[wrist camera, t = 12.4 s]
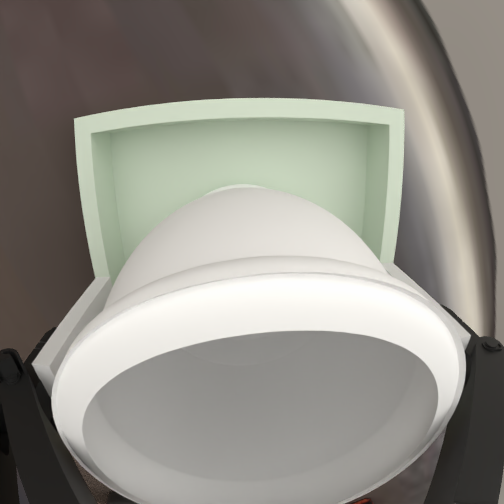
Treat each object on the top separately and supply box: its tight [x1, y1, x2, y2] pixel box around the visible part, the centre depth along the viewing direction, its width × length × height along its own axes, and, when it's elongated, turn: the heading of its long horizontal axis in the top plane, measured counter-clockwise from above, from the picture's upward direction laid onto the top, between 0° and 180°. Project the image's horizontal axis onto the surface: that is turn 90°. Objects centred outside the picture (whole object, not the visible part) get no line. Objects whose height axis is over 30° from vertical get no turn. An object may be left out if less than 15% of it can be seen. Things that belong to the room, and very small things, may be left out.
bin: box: [74, 98, 404, 287], centre depth 19 cm, size 18×18×4 cm
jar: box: [51, 184, 466, 504], centre depth 13 cm, size 11×10×15 cm
